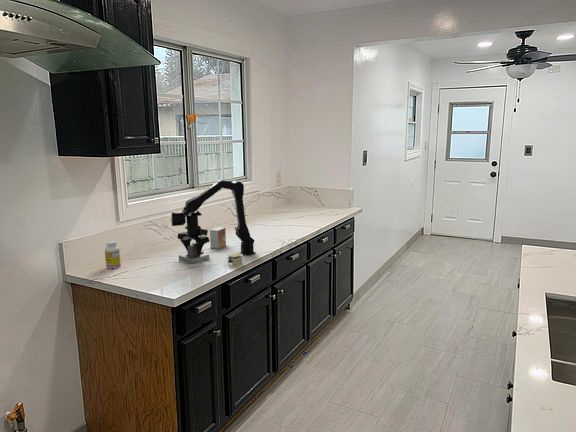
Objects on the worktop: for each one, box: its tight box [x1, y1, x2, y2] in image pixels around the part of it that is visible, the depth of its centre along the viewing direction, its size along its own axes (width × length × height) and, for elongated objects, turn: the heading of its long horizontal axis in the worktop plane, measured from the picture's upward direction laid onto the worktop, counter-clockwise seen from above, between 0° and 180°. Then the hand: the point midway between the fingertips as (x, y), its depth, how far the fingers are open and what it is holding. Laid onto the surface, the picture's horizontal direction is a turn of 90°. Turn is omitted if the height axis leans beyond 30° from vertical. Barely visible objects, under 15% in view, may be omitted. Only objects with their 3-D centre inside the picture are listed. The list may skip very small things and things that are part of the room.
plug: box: [186, 242, 199, 257], centre depth 225 cm, size 4×5×8 cm
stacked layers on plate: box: [226, 252, 244, 268], centre depth 217 cm, size 10×9×6 cm
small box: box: [209, 226, 227, 249], centre depth 249 cm, size 8×6×10 cm
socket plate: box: [178, 250, 210, 265], centre depth 226 cm, size 11×11×3 cm
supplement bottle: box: [104, 240, 122, 270], centre depth 213 cm, size 7×7×13 cm
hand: (194, 253), depth 226 cm, fingers open, 8 cm apart
